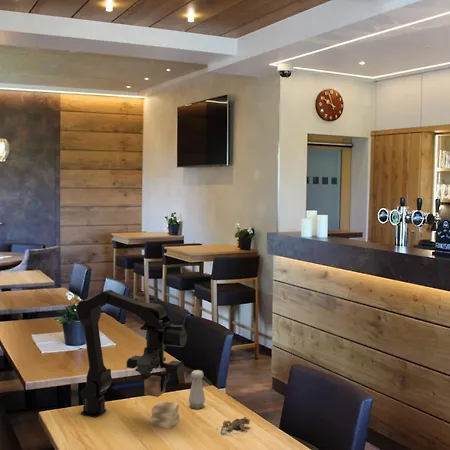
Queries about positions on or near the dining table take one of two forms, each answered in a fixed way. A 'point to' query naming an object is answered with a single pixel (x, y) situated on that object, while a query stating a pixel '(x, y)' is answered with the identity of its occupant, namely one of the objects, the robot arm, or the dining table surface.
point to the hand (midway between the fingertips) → (155, 390)
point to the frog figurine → (234, 426)
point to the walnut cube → (153, 386)
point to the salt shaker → (196, 390)
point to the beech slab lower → (164, 422)
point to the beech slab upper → (165, 410)
